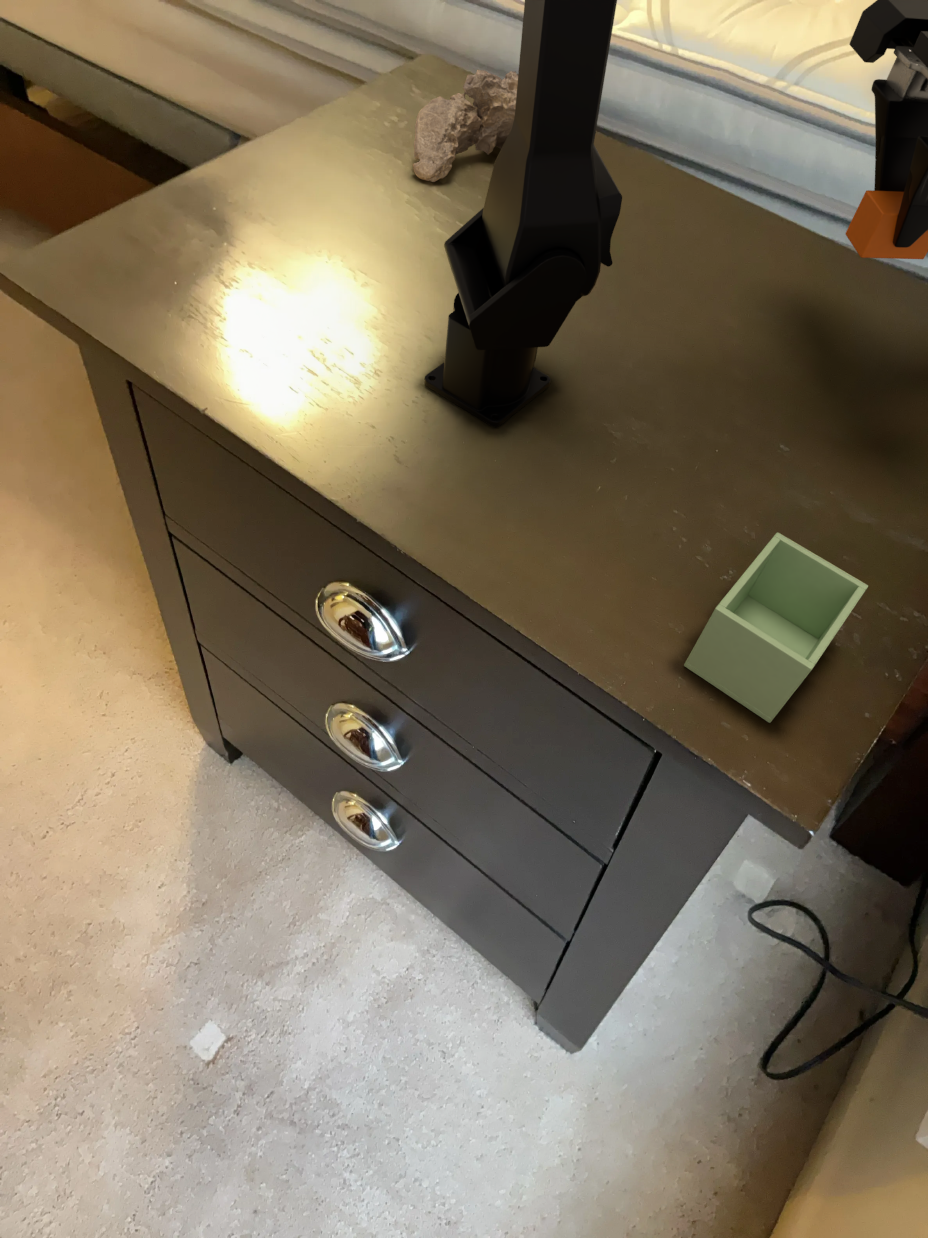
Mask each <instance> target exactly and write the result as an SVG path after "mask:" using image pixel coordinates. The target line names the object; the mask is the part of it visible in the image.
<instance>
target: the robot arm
mask: <svg viewBox="0 0 928 1238" xmlns="http://www.w3.org/2000/svg"><path fill="white" fill-rule="evenodd" d="M617 3H618V0H524V3H523V18H522V28H521V39H520V51H519V62H518V73H517V74H518V84H517V96H516V107H515V117H514V122H513V126H512V129H511V131H510V133H509V135H508V137H507V139H506V141H505V143H504V145H503V147H502V149H500V151H499V153H498V154H497V156H496V158H495V160H494V164H493V166H492V171H491V176H490V180H489V183H488V188H487V192H486V196H485V200H484V203H483V204H484V205H483V207H482V208H481V209H480V210H479V211H478V212H477V213H475V214H474V215H473V216H472V217H471V218H470V219H469V220H468V221H466V222H465V223H464V224H463V225H462V226H461V227H460V228H458V229H457V230H456V231H455V232H454V233H453V234H452V235H450V236H449V238H448V239H446V240H445V242H444V245H443V247H444V251H445V254H446V258H447V260H448V263H449V267H450V270H451V273H452V276H453V280H454V282H455V285H456V289H457V293H456V294H455V297H454V299H453V306H452V312H451V313H449V314H448V318H447V328H446V340H445V351H444V361H443V362H442V363H441V364H440V365H438V366H437V367H436V368H434V369H433V370H431V371H430V372H429V373H427V374H425V376H424V382H423V383H424V385H425V386H426V387H427V388H429V389H430V390H432V391H434V392H435V393H437V394H439V395H440V396H442V397H443V398H445V399H446V400H448V401H450V402H451V403H453V404H455V405H457V406H458V407H460V408H461V409H463V410H464V411H466V412H468V413H469V414H471V415H473V416H475V417H476V418H477V419H479V420H480V421H483V422H484V423H486V424H487V425H489V426H490V427H494V428H495V427H500V426H502V425H503V424H504V423H505V422H507V421H508V420H509V419H510V418H512V417H513V416H514V415H515V414H516V413H519V411H520V410H521V409H523V408H524V407H525V406H527V404H529V403H531V401H533V400H534V399H536V397H538V396H539V395H540V394H541V393H543V392H544V391H545V390H546V389H547V388H549V387H550V384H551V380H552V379H551V376H549V375H548V374H546V373H544V372H543V371H541V370H539V369H538V368H535V367H534V366H535V362H536V359H537V354H538V348H547V347H549V346H550V345H551V344H552V342H553V340H554V339H555V338H556V335H557V334H558V332H559V330H560V329H561V327H562V326H563V324H564V322H565V321H566V319H567V317H568V316H569V314H570V313H571V311H572V309H573V308H574V307H575V305H576V303H577V302H578V301H579V300H580V299H582V297H587V296H589V295H590V293H591V292H592V290H594V288H595V286H596V284H597V281H598V279H599V275H600V273H601V268H602V267H601V265H603V266H606V267H611V266H612V265H613V264H614V263H613V258H612V254H611V243H612V237H613V234H614V230H615V228H616V226H617V222H618V220H619V218H620V213H621V208H622V203H623V202H622V201H623V195H622V193H621V191H620V189H619V188H618V185H617V184H616V182H615V179H614V178H613V177H612V175H611V173H610V171H609V169H608V168H607V166H606V164H605V162H604V160H603V158H602V156H601V154H600V153H599V150H598V149H597V147H596V146H595V140H596V133H597V127H598V121H599V114H600V108H601V102H602V96H603V90H604V83H605V77H606V71H607V66H608V58H609V52H610V48H611V47H610V46H611V41H612V34H613V29H614V21H615V15H616V10H617V5H618V4H617ZM848 45H849V46H850V47H851V49H853V51H854V52H855V53H856V55H858V57H859V58H860V59H861V60H862V61H863V62H864V63H867V64H868V63H870V64H874V63H875V62H877V61H878V60H880V58H882V57H883V56H884V55H885V54H886V52H887V50H893V55H894V56H896V58H895V60H894V62H893V64H892V65H891V66H892V67H891V69H890V70H889V73H888V75H887V77H886V79H883V78H881V79H880V78H877V79H874V80H873V81H872V84H871V92H872V93H873V96H874V127H875V129H874V131H875V133H874V134H875V135H874V137H875V139H874V140H875V148H874V149H875V150H874V151H875V155H874V159H875V160H874V161H875V162H874V189H873V191H897V192H904V194H903V198H902V202H901V206H900V210H899V214H898V217H897V222H896V226H895V232H894V238H893V244H894V246H895V247H904V248H906V247H910V246H911V245H912V244H913V243H914V242H915V241H917V240H918V239H919V238H920V237H921V236H922V235H923V234H924V233H925V232H926V231H927V230H928V0H875V1H874V2H873V3H871V4H870V5H869V6H867V8H865V9H864V10H862V12H861V15H860V17H859V19H858V21H857V24H856V26H855V29H854V32H853V34H852V37H851V39H850V41H849V44H848Z"/></svg>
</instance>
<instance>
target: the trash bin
mask: <svg viewBox="0 0 928 1238" xmlns="http://www.w3.org/2000/svg"><path fill="white" fill-rule="evenodd" d="M868 588H869V585H868V584H867V583H865V582H863V581H862V580H860V579H858V578H856V577H855V576H853V575H851V574H849V573H847V572H846V571H844V570H843V569H842V568H839V567H838V566H836V565H834V564H832V563H831V562H829V561H828V560H826V559H824V558H822V557H821V556H819V555H817V554H815V553H814V552H812V551H810V550H809V549H807V548H806V547H804V546H802V545H800V544H799V543H797V542H795V541H793V540H792V539H790V538H789V537H787V536H785V535H783V534H781V533H780V532H776V533H775V534H774V535H773V536H772V538H771V539H770V540H769V541H768V543H767V544H766V545H765V546H764V548H763V549H762V550H761V551H760V553H758V555H757V556H756V557H755V559H754V560H753V561H752V562H751V563H750V565H749V566H748V567H747V568H746V569H745V571H744V572H743V573H742V575H741V576H740V577H739V578H738V580H737V581H736V582H735V583H734V584H733V585H732V586H731V588H730V590H729V591H728V592H727V593H726V595H724V597H723V598H722V599H721V600H720V601H719V603H718V604H717V605H716V606H715V608H714V610H713V611H712V614H711V615H710V617H709V619H708V620H707V623H706V624H705V626H704V628H703V629H702V631H701V633H700V635H699V637H698V639H697V641H696V642H695V644H694V646H693V648H692V650H691V652H690V653H689V655H688V656H687V659H686V660H685V662H684V664H683V667H685V668H686V669H688V670H689V671H691V672H693V673H694V674H696V675H697V676H699V677H700V678H701V679H703V680H704V681H706V682H707V683H709V684H710V685H711V686H713V687H715V688H716V689H718V690H719V691H721V692H723V693H724V694H725V695H727V696H728V697H730V698H731V699H733V700H734V701H736V702H737V703H739V704H740V705H742V706H743V707H745V708H747V709H748V710H749V711H751V712H752V713H754V714H755V715H757V716H758V717H759V718H761V719H763V720H764V721H766V722H767V723H769V724H771V722H772V721H773V720H774V719H775V718H776V716H777V715H778V714H779V712H780V711H781V710H782V709H783V708H784V706H785V705H786V703H788V701H789V700H790V698H791V697H792V696H793V694H794V693H795V692H796V690H797V689H798V688H799V687H800V686H801V685H802V683H803V682H804V681H805V679H806V678H807V677H808V675H809V674H810V673H811V672H812V670H813V669H814V667H815V666H816V665H817V663H818V661H819V660H820V658H821V657H822V655H824V653H825V651H826V650H827V648H828V647H829V645H830V644H831V642H832V641H833V640H834V638H835V637H836V635H837V634H838V633H839V631H840V629H841V628H842V626H843V624H844V623H845V621H847V619H848V617H849V616H850V615H851V613H852V611H853V610H854V609H855V607H856V605H857V604H858V602H859V601H860V599H862V597H863V595H864V594H865V592H866V591H867V590H868Z"/></svg>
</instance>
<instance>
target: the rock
mask: <svg viewBox="0 0 928 1238" xmlns="http://www.w3.org/2000/svg"><path fill="white" fill-rule="evenodd" d="M517 84H518V73H517V72H516V70H514V71H512V70H510V71H509V72H507V73H505V77H504V78H503V79H501V78H500V76H498V75H497V74H493V73H489V72H488V71H487V70H484V69H483V70H480V69H477V70H476V72H475V74H471V73H470V74H467V75H466V79H465V81H464V83H463V86H462V89H463V91H464V92H463V93H460V92H458V93H456V94H453V95H451V96H449V99H446V98H444V97H443V96H437V97H434V98H432V99H430V101H429V102H427V103H426V104H425V105H424V106H423V107H422V108H421V109H420V110H419V111H418V113H417V116H416V121H415V125H414V141H413V157H414V159H418V160H419V161H417V162H414V163H412V169H413V172H414V174H415V175H416V177H417V178H418V179H420V180H422V181H427V182H432V183H435V182H437V181H439V180H440V179H445V177H446V176H448V174H449V173H450V171H451V170H452V167H453V162H454V161H456V155H458V154H462V153H465V152H467V151H468V149H469V148H470V147H472V146H475V151H481V152H484V153H486V155H488V156H489V155H490V154H491V153H492V152H493V151H494V149H495V147H497V148H498V149H499V150H501V149H502V147H503V145H504V143H505V141H506V139H507V137H508V135H509V133H510V131H511V129H512V126H513V122H514V117H515V107H516V96H517ZM466 95H467V96H468V97H469V98H471V99H473V102H472V103H471V102H470V101H469V100H468V99H466Z"/></svg>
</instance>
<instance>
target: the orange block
mask: <svg viewBox="0 0 928 1238" xmlns="http://www.w3.org/2000/svg"><path fill="white" fill-rule="evenodd" d="M903 194H904V192H897V191H874V190H869V189H868V190H867V189H866V190H865V192H864V193H863V196H862V198H861V200H860V202H859V204H858V206H857V208H856V211H855V213H854V214H853V216H852V218H851V221H850V222H849V225H848V228H847V229H846V231H845V236H846V238H847V239H848V241H849V242H850V244H851V245H852V246H853V248H854V250H855V251H856V253H857V255H858V256H859V258H862V259H893V260H894V259H896V260H897V259H898V260H924V259H925V258H926V256H927V254H928V230H927V231H926V232H925V233H924V234H923V235H922V236H921V237H920V238H919V239H918V240H917V241H915V242H914V243H913V244H912V245H911V246H910V247H906V248H904V247H895V246H894V244H893V238H894V232H895V226H896V222H897V217H898V214H899V210H900V206H901V202H902V198H903Z"/></svg>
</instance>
